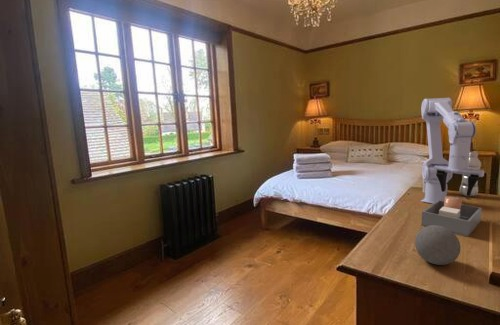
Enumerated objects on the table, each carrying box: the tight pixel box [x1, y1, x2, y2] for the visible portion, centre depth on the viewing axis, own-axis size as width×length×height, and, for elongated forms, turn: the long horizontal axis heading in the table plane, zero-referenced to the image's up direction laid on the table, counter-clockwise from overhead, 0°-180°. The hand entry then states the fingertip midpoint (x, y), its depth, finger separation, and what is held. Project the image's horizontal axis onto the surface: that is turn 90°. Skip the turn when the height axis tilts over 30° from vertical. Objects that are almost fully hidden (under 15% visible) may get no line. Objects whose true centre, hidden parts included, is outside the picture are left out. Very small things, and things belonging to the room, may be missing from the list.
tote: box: [420, 200, 483, 238], centre depth 99 cm, size 17×13×5 cm
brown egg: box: [444, 195, 463, 212], centre depth 103 cm, size 5×5×7 cm
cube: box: [439, 206, 460, 219], centre depth 97 cm, size 5×5×5 cm
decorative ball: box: [414, 225, 461, 266], centre depth 75 cm, size 10×10×10 cm
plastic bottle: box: [459, 150, 482, 197], centre depth 126 cm, size 6×7×20 cm
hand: (455, 193), depth 104 cm, fingers open, 7 cm apart
